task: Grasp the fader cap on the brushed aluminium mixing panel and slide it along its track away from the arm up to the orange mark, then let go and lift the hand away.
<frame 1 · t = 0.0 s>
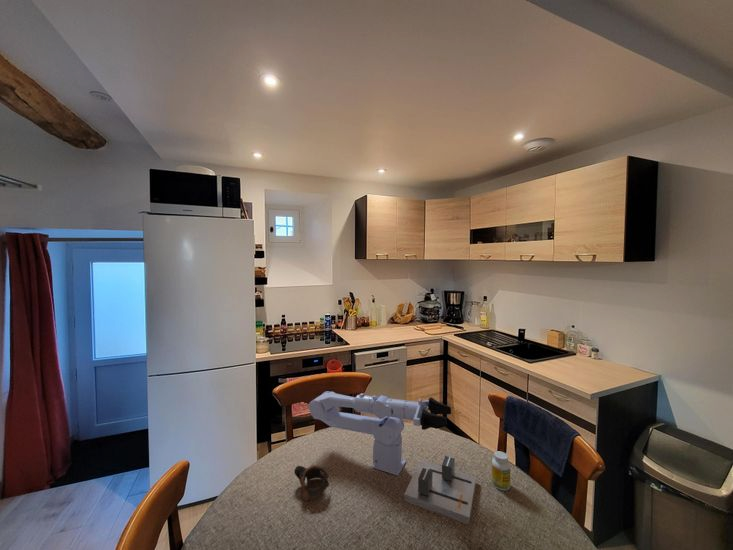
hand: (448, 415, 92), 22 cm above the table, tool horizontal, fingers open, 7 cm apart
supplement bottle: (500, 485, 93), on the table
fader panel: (441, 491, 90), on the table
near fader: (425, 481, 88), point 4 cm above the table, slide at 0.0 cm
pottery mug: (311, 489, 90), on the table
far fader: (448, 467, 94), point 4 cm above the table, slide at 5.0 cm
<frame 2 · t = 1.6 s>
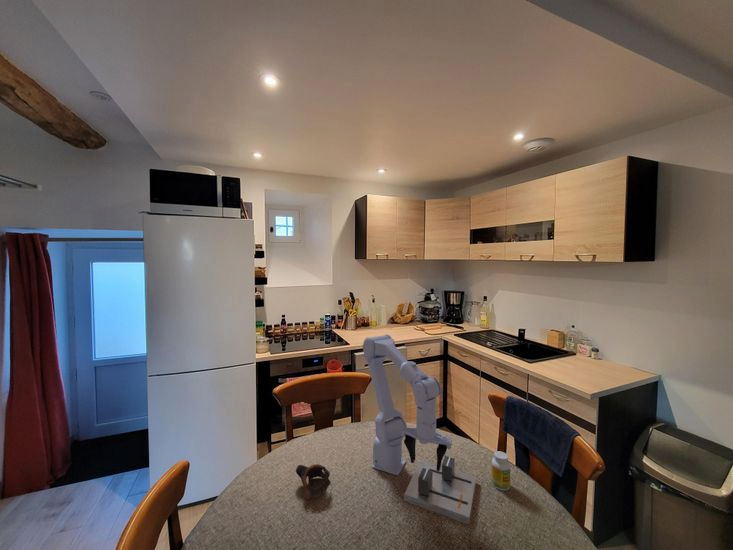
hand: (425, 464, 88), 9 cm above the table, tool pointing down, fingers open, 7 cm apart
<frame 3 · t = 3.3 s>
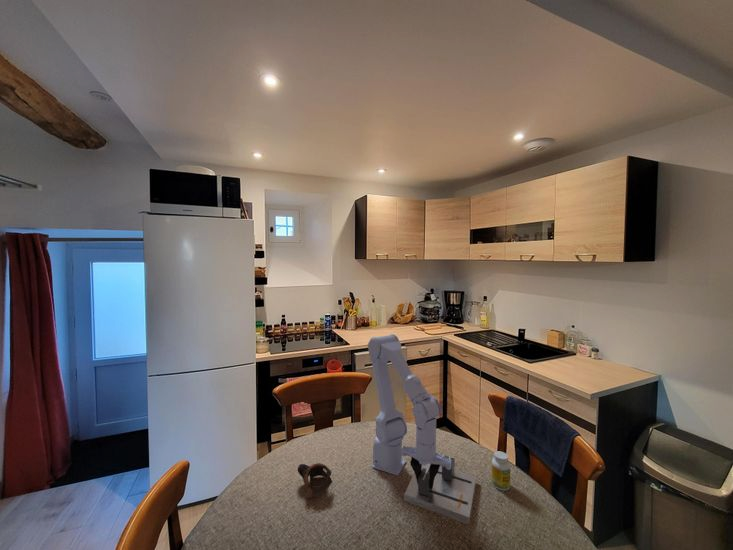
hand: (425, 484, 88), 3 cm above the table, tool pointing down, fingers closed on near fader, 3 cm apart
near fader: (425, 481, 88), point 4 cm above the table, slide at 0.0 cm, touching gripper
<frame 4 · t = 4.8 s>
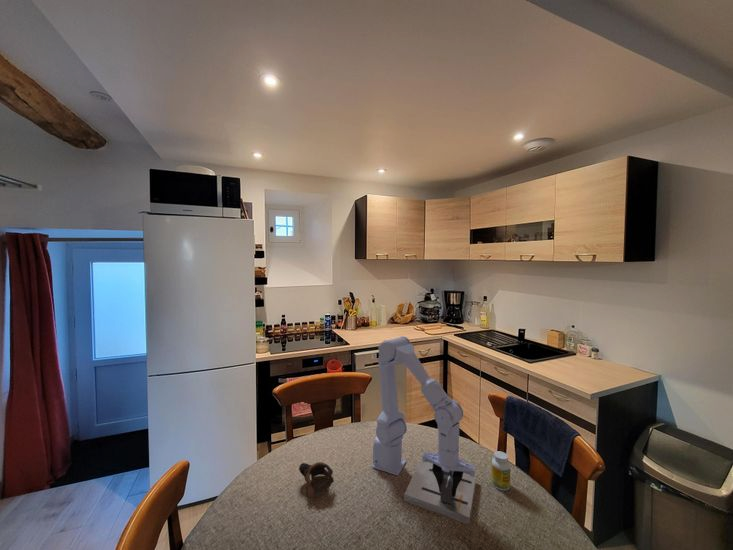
hand: (447, 492, 85), 3 cm above the table, tool pointing down, fingers closed on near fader, 3 cm apart
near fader: (447, 488, 85), point 4 cm above the table, slide at 6.5 cm, touching gripper
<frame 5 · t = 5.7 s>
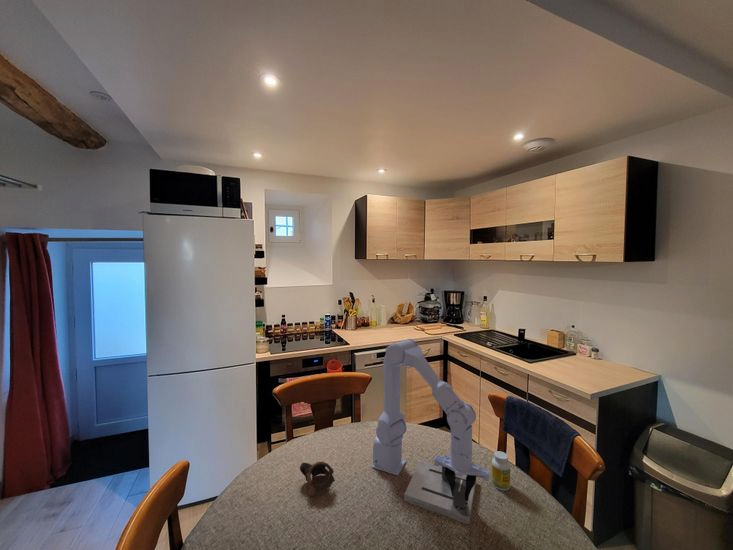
hand: (460, 496, 83), 3 cm above the table, tool pointing down, fingers closed on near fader, 3 cm apart
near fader: (460, 492, 83), point 4 cm above the table, slide at 10.0 cm, touching gripper
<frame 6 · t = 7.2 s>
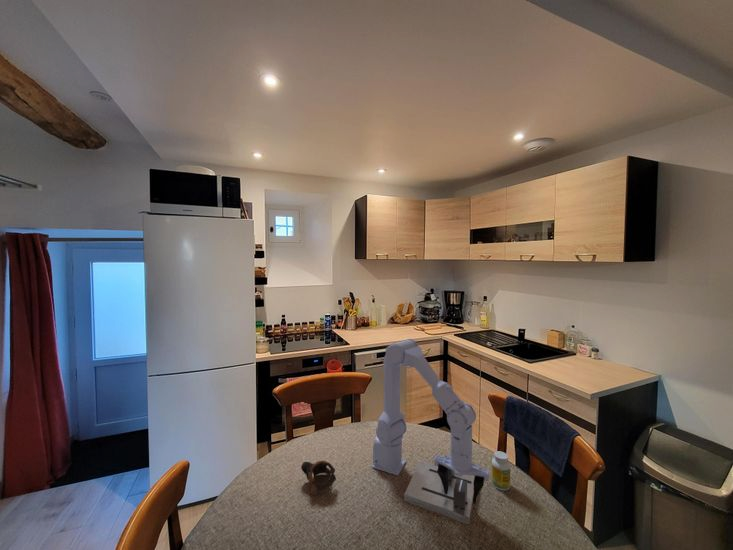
hand: (460, 496, 83), 3 cm above the table, tool pointing down, fingers open, 7 cm apart
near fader: (460, 492, 83), point 4 cm above the table, slide at 10.0 cm
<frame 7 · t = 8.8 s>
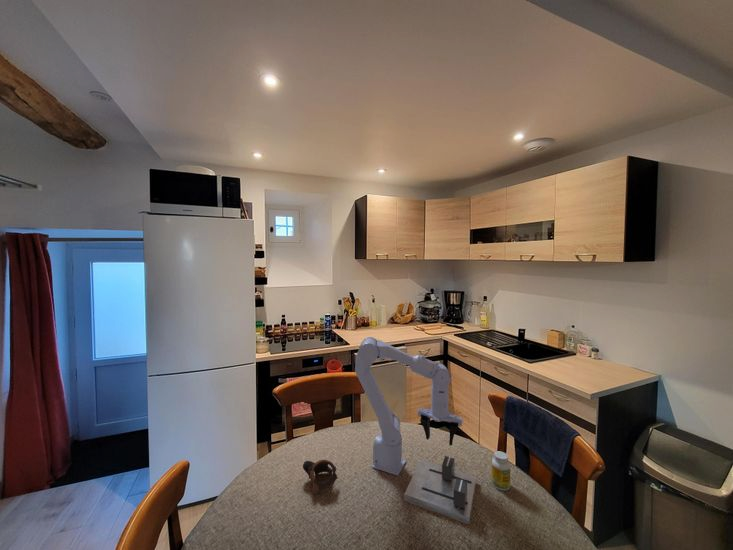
hand: (439, 440, 100), 9 cm above the table, tool pointing down, fingers open, 7 cm apart
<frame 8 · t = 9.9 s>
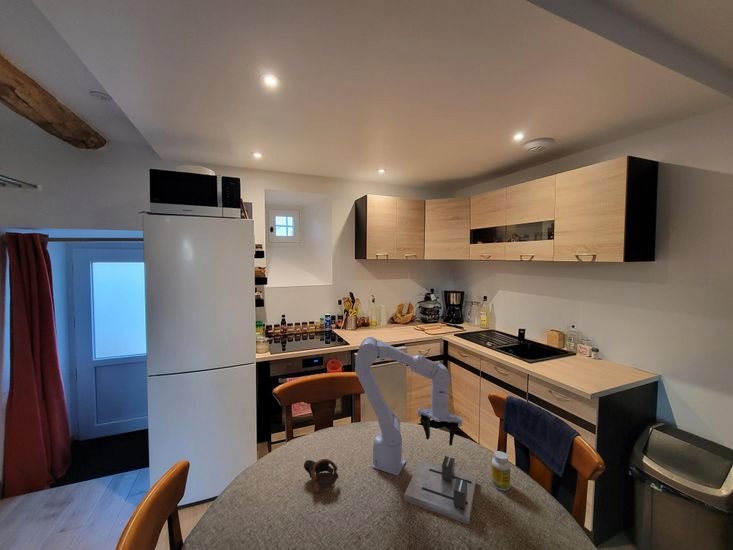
hand: (439, 440, 100), 9 cm above the table, tool pointing down, fingers open, 7 cm apart
at the end: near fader slide at 10.0 cm; far fader slide at 5.0 cm; the gripper is holding nothing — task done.
